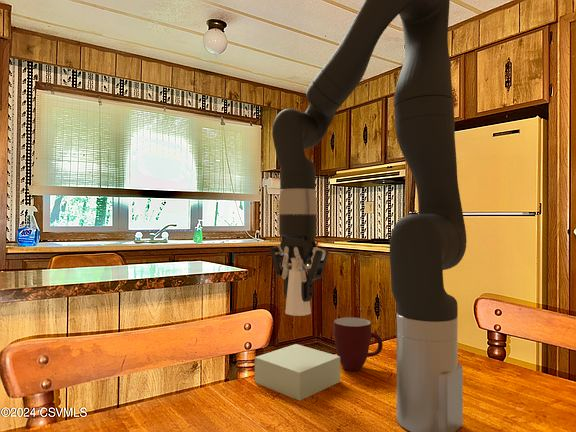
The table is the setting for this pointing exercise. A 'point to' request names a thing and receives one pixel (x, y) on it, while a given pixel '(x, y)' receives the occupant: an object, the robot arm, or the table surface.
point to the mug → (354, 342)
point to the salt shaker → (296, 293)
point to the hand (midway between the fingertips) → (297, 298)
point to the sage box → (297, 371)
